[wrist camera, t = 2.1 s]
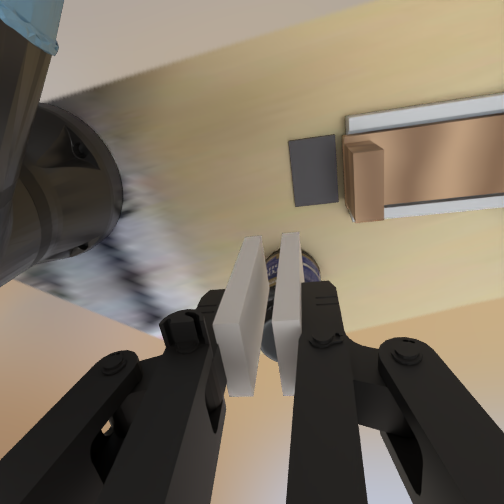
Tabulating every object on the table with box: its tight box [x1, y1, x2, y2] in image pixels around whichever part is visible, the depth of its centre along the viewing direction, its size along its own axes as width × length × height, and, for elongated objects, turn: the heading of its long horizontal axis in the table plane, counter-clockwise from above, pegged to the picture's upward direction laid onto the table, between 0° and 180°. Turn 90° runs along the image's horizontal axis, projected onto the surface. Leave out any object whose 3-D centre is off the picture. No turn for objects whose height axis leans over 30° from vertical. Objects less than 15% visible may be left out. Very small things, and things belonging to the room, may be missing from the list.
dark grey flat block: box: [289, 134, 339, 207], centre depth 32 cm, size 4×6×1 cm, turn 9°
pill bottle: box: [260, 251, 321, 362], centre depth 32 cm, size 6×6×11 cm
